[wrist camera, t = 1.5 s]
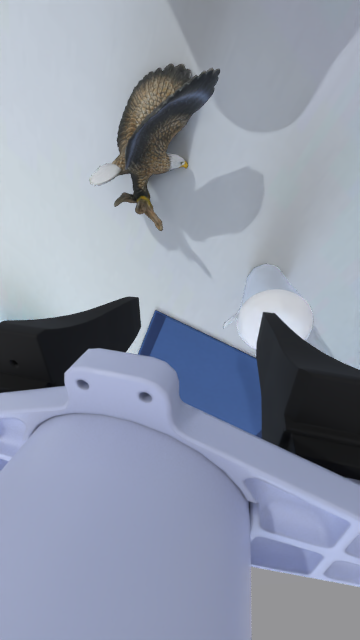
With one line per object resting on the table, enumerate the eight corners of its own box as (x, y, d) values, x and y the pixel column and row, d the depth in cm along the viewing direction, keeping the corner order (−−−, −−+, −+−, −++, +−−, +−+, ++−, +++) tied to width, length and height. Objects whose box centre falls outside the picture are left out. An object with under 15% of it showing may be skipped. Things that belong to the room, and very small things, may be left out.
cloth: (319, 388, 26) (320, 391, 26) (252, 449, 34) (252, 451, 33) (155, 310, 26) (154, 311, 26) (125, 387, 34) (124, 389, 33)
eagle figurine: (199, 229, 20) (252, 85, 14) (123, 235, 16) (152, 30, 10) (149, 188, 23) (174, 56, 17) (75, 184, 19) (74, 6, 13)
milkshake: (240, 247, 21) (235, 289, 13) (301, 263, 20) (339, 318, 12) (225, 293, 23) (213, 354, 15) (279, 308, 23) (299, 381, 14)
